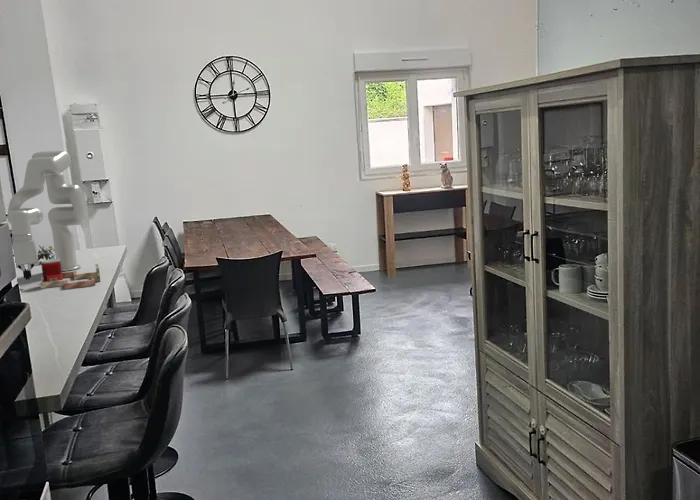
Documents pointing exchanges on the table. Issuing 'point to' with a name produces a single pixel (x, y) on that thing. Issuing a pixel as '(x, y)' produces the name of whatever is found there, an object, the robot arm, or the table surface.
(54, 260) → the canned food
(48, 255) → the passion flower
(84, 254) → the table surface
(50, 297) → the table surface
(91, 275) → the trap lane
